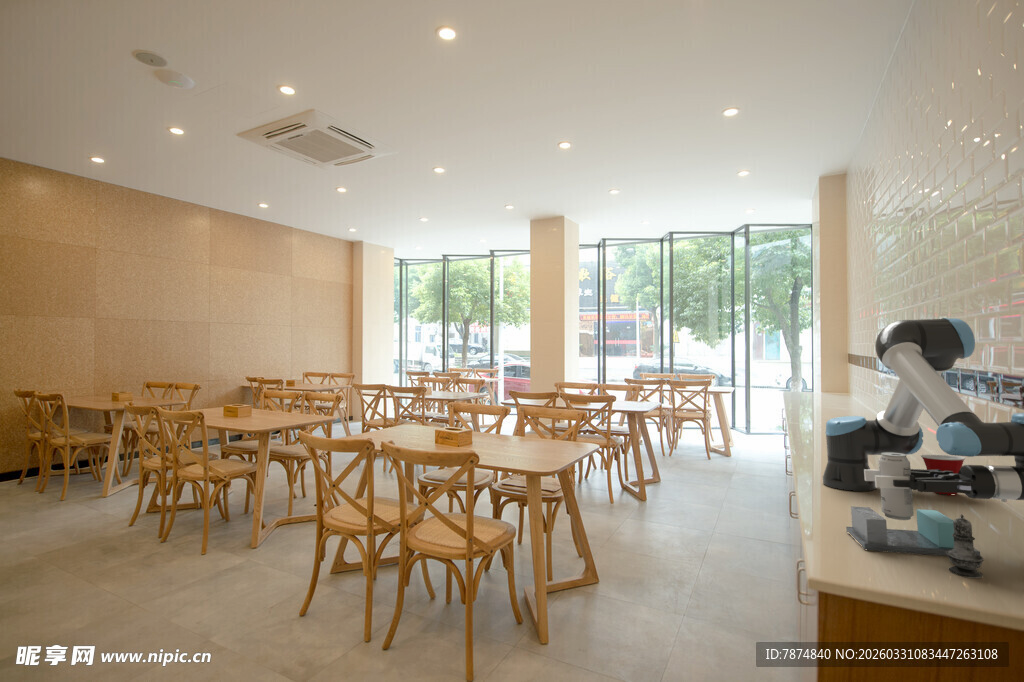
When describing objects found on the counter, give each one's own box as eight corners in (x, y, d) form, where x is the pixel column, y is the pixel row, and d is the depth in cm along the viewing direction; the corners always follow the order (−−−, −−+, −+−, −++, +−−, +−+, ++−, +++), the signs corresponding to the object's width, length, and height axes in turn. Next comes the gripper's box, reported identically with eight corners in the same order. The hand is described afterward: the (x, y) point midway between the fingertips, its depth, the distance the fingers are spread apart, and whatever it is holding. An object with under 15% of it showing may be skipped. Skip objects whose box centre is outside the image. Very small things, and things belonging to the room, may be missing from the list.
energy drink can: (885, 511, 123) (881, 450, 124) (916, 516, 119) (912, 453, 119) (879, 517, 119) (875, 454, 120) (910, 522, 115) (906, 457, 115)
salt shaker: (939, 567, 106) (935, 510, 106) (964, 565, 106) (960, 509, 107) (966, 580, 100) (962, 519, 100) (993, 577, 100) (989, 518, 101)
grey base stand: (846, 532, 127) (845, 505, 128) (950, 538, 121) (948, 509, 121) (864, 550, 116) (863, 520, 116) (980, 558, 110) (978, 526, 110)
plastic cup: (956, 489, 162) (954, 452, 162) (975, 498, 152) (972, 459, 152) (916, 487, 165) (914, 451, 166) (932, 496, 155) (929, 458, 156)
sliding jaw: (917, 531, 122) (916, 509, 122) (937, 533, 121) (935, 510, 121) (939, 547, 113) (937, 522, 113) (960, 548, 111) (959, 523, 112)
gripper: (1016, 510, 105) (887, 505, 112) (964, 488, 123) (856, 484, 130) (1013, 475, 105) (885, 471, 112) (962, 457, 123) (854, 455, 130)
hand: (870, 478), depth 121 cm, fingers closed on energy drink can, 6 cm apart
